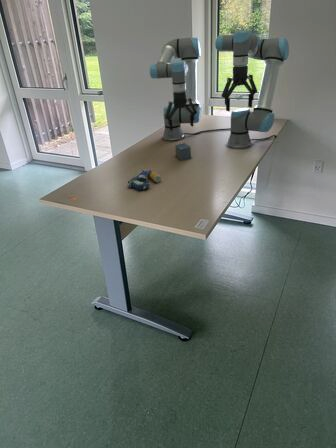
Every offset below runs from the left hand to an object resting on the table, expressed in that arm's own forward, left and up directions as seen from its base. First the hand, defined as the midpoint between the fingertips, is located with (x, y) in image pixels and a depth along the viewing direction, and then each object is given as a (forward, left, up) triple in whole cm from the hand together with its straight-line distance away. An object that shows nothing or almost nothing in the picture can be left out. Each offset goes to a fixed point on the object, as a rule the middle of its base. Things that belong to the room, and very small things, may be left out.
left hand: (181, 128), depth 203 cm
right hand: (-18, +31, +13) cm, 38 cm away
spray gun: (+37, +21, -18) cm, 46 cm away
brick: (0, 0, -18) cm, 18 cm away
